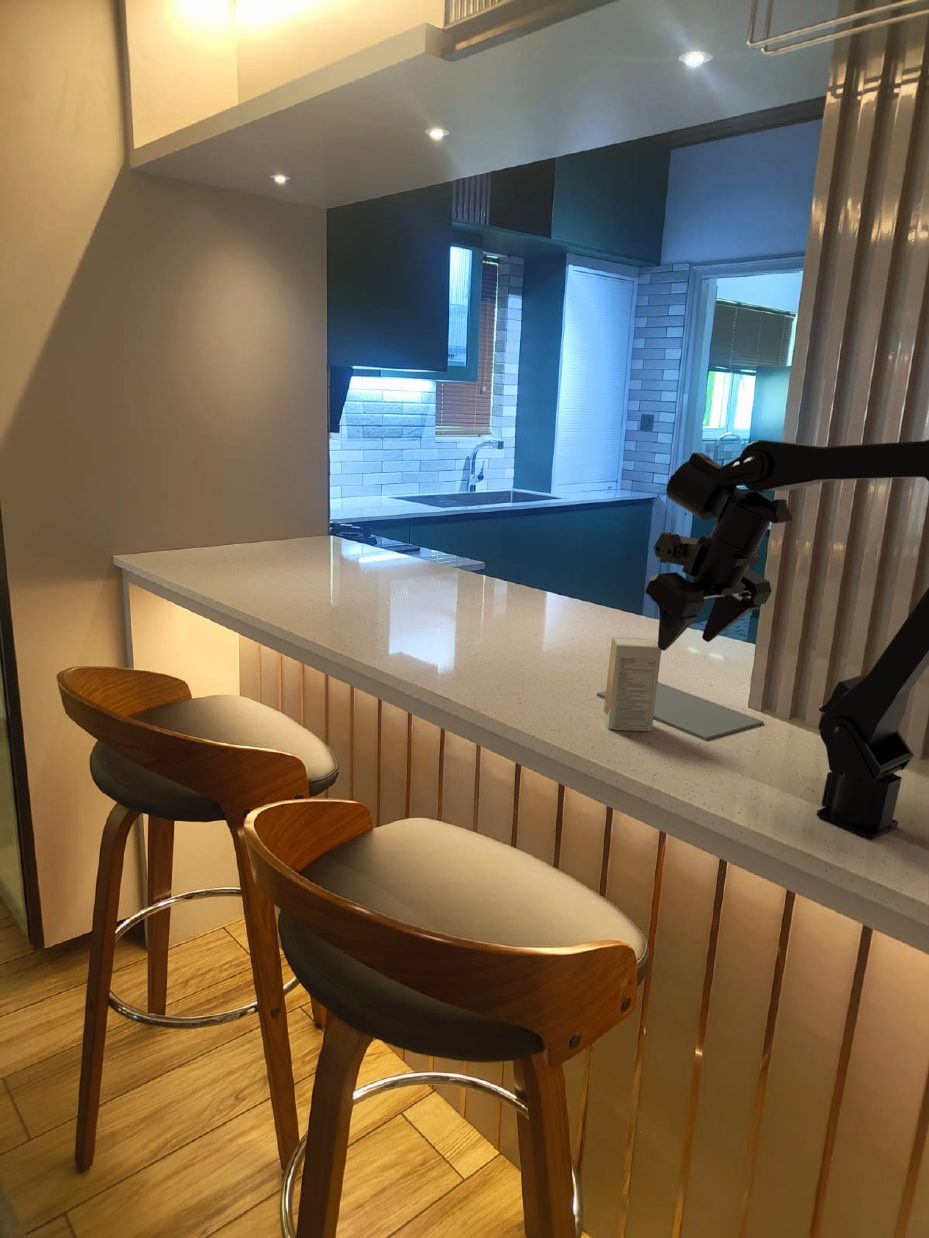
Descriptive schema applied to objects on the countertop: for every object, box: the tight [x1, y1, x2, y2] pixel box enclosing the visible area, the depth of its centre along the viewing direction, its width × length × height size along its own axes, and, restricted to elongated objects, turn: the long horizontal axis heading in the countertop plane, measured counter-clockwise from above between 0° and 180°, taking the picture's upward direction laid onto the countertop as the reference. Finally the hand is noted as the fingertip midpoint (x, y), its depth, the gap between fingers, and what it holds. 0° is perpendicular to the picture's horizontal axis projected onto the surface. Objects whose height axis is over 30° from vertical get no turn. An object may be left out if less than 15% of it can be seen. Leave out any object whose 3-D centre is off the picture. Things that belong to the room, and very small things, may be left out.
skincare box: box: [602, 636, 662, 732], centre depth 120 cm, size 6×4×12 cm
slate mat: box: [596, 681, 765, 741], centre depth 130 cm, size 20×14×1 cm
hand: (683, 644), depth 113 cm, fingers open, 9 cm apart
